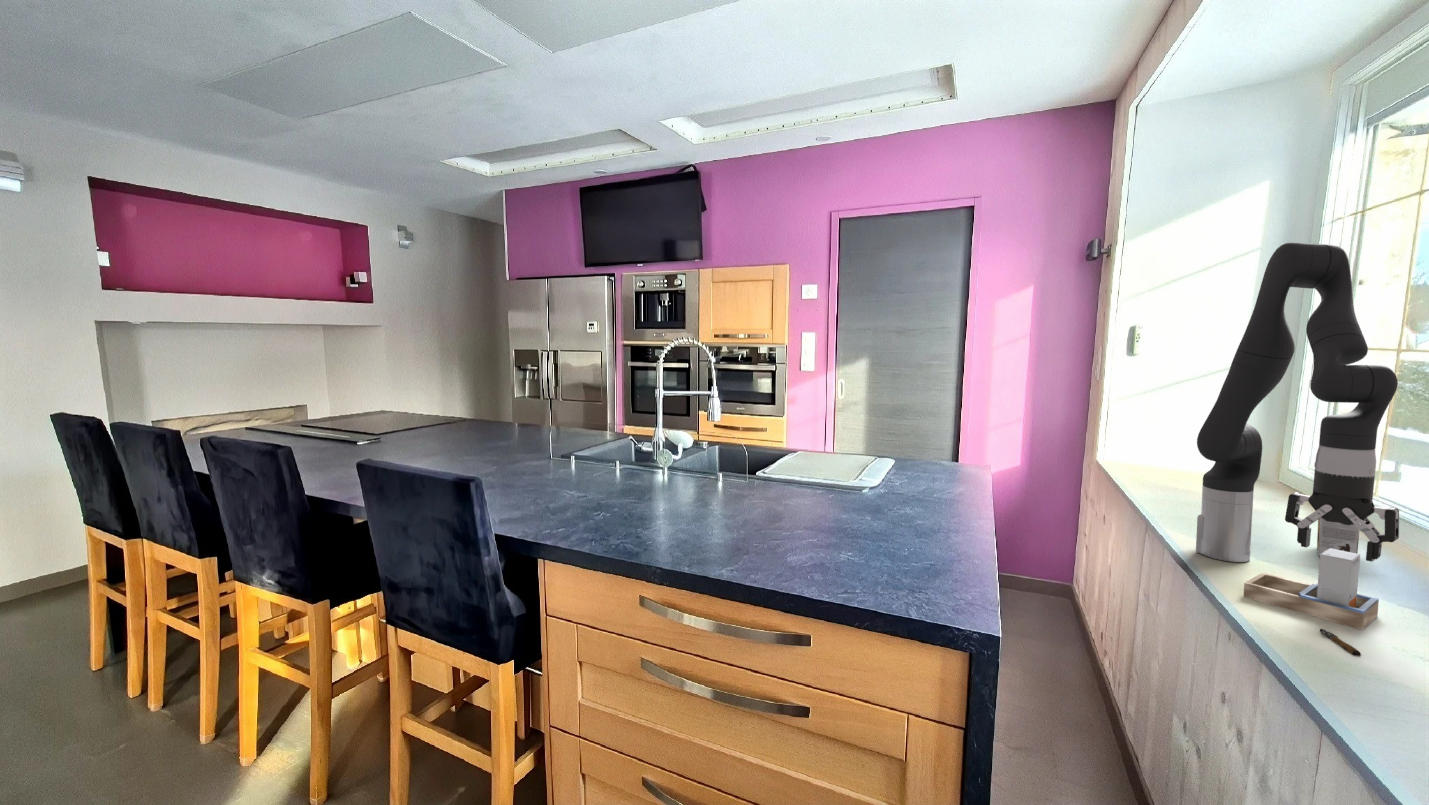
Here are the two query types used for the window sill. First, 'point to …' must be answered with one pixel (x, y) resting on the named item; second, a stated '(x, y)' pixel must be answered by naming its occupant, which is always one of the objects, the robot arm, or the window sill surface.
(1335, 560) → the skincare box
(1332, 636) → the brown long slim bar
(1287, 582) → the organiser
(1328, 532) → the coffee box
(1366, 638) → the window sill surface
